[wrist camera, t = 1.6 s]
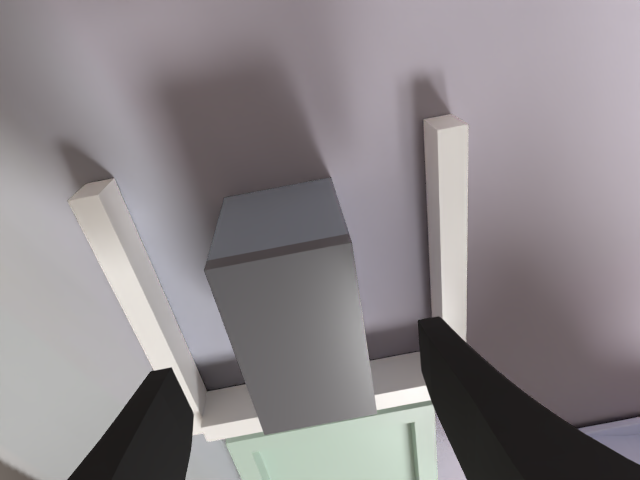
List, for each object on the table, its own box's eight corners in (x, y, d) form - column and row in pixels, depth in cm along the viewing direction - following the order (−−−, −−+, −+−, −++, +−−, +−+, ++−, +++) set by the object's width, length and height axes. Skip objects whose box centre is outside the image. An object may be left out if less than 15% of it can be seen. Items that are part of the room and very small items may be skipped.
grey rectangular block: (330, 176, 15) (351, 242, 11) (354, 320, 19) (377, 413, 15) (224, 196, 16) (203, 270, 11) (267, 336, 19) (264, 435, 15)
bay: (451, 113, 15) (474, 128, 13) (453, 359, 20) (470, 392, 19) (86, 183, 15) (60, 207, 13) (193, 409, 21) (185, 446, 19)
